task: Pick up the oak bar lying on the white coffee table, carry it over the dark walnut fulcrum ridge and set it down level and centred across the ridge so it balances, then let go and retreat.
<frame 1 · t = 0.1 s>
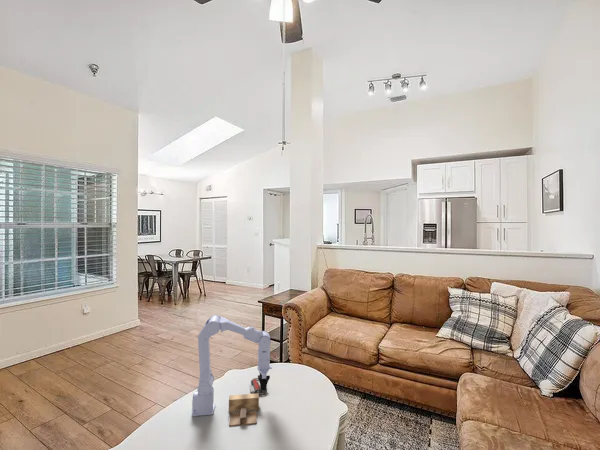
hand: (263, 385, 142), 10 cm above the table, fingers open, 7 cm apart
walkie-talkie: (258, 392, 154), on the table
oak bar: (243, 408, 140), on the table
fulcrum: (243, 418, 132), on the table
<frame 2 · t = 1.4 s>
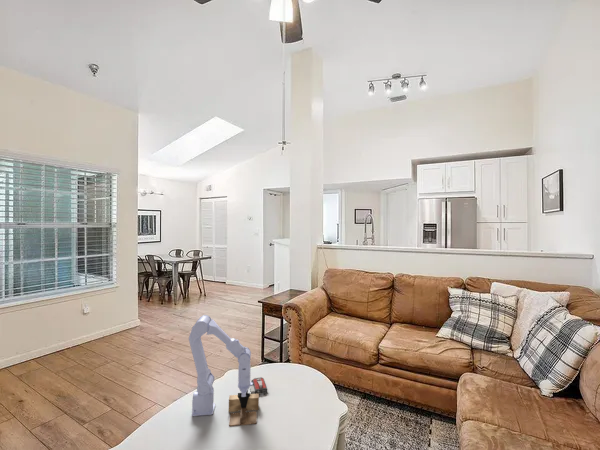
hand: (244, 403, 140), 3 cm above the table, fingers open, 7 cm apart
nothing on the table moved.
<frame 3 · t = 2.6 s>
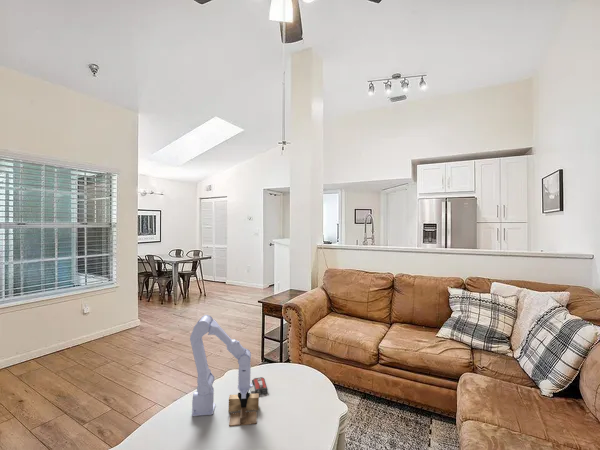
hand: (243, 404, 140), 2 cm above the table, fingers closed on oak bar, 4 cm apart
oak bar: (243, 408, 140), on the table, touching gripper
everything else where it was.
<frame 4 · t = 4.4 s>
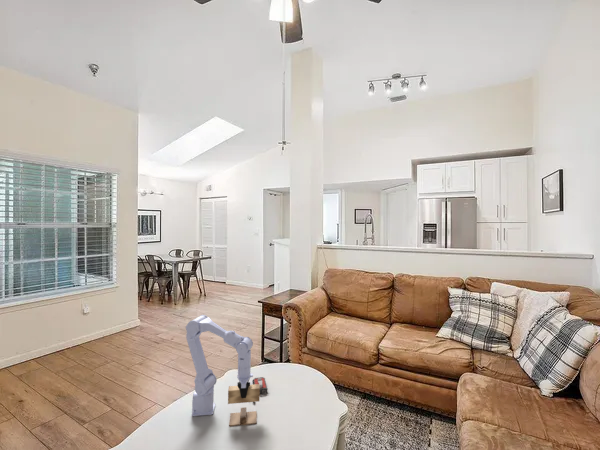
hand: (243, 395, 133), 10 cm above the table, fingers closed on oak bar, 3 cm apart
oak bar: (243, 400, 133), point 8 cm above the table, touching gripper
everything else where it was.
when the fingers open (6 cm above the table, at t = 6.3 s): oak bar stays where it is, resting on fulcrum.
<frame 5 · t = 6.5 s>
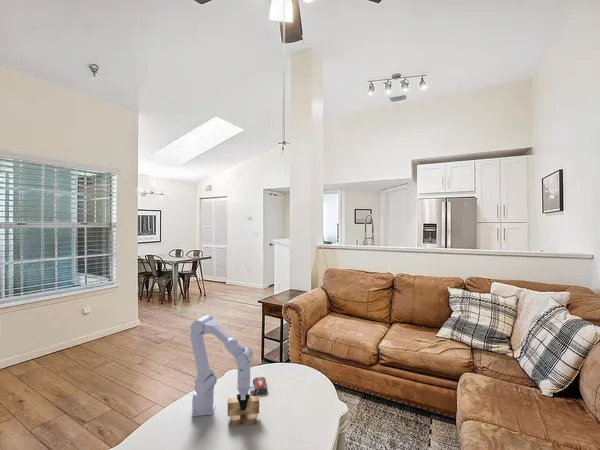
hand: (243, 406, 132), 6 cm above the table, fingers open, 5 cm apart
oak bar: (243, 412, 132), point 3 cm above the table, touching fulcrum
everything else where it was.
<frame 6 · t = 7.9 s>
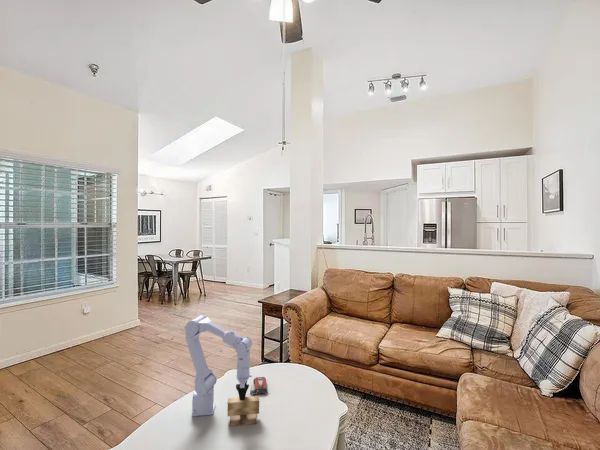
hand: (242, 394, 134), 10 cm above the table, fingers open, 7 cm apart
nothing on the table moved.
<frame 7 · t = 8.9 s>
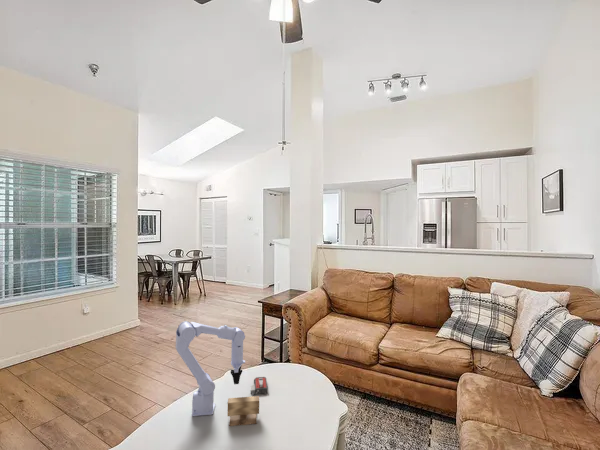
hand: (236, 379, 146), 10 cm above the table, fingers open, 7 cm apart
nothing on the table moved.
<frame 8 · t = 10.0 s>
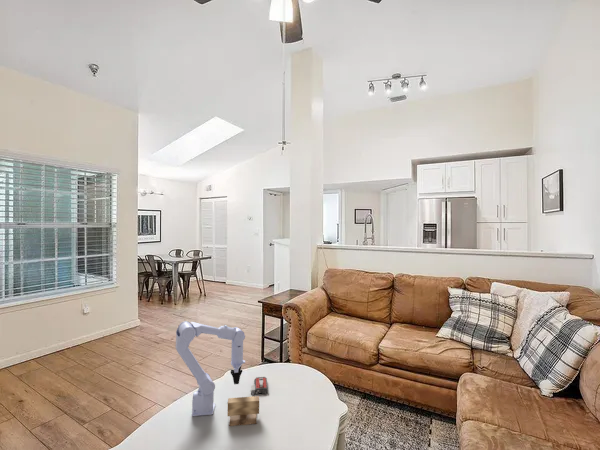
hand: (236, 379, 146), 10 cm above the table, fingers open, 7 cm apart
nothing on the table moved.
at the end: oak bar 0.1 cm off-centre on the fulcrum, point 3.0 cm above the fulcrum's base; oak bar tilted 0°; oak bar touching fulcrum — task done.
